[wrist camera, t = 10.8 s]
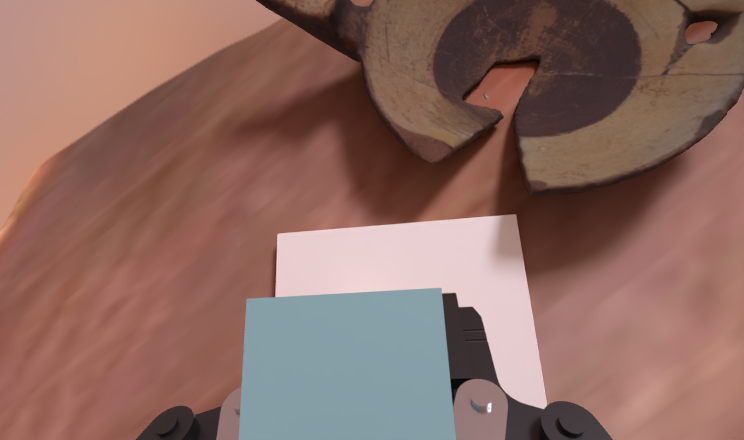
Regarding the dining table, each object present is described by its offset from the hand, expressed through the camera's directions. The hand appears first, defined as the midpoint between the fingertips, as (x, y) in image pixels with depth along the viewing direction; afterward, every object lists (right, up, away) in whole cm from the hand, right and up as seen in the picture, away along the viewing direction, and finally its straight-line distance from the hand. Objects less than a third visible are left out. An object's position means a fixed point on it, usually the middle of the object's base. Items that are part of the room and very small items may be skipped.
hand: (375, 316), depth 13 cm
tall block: (+1, -3, +4) cm, 5 cm away
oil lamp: (+9, +16, +15) cm, 23 cm away
